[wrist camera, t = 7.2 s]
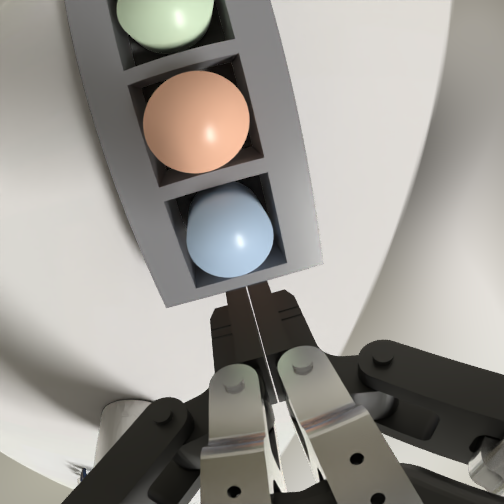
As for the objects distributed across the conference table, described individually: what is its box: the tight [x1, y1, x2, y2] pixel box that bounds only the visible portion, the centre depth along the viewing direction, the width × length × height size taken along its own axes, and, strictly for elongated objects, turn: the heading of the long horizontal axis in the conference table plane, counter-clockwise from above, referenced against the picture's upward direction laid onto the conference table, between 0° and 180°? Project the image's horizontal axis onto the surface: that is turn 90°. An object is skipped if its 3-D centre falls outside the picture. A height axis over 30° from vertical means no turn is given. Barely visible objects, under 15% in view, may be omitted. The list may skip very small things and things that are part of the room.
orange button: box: [143, 71, 250, 173], centre depth 14 cm, size 5×5×4 cm
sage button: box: [117, 0, 214, 54], centre depth 12 cm, size 5×5×4 cm
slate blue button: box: [186, 181, 273, 278], centre depth 18 cm, size 5×5×4 cm
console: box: [65, 0, 324, 308], centre depth 16 cm, size 20×10×4 cm, turn 13°
